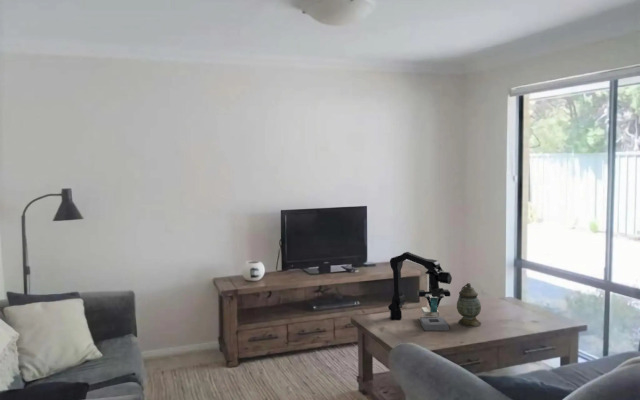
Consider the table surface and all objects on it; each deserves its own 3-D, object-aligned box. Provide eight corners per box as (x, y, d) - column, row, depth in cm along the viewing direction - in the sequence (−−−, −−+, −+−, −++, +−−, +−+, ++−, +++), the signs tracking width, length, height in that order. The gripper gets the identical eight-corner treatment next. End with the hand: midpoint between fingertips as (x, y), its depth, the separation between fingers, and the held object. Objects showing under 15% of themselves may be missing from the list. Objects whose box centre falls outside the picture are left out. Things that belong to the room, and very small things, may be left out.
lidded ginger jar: (482, 327, 292) (482, 286, 290) (457, 326, 295) (457, 285, 293) (479, 320, 306) (479, 280, 304) (456, 319, 309) (455, 280, 307)
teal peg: (431, 312, 294) (431, 299, 294) (429, 310, 298) (429, 297, 298) (437, 312, 294) (437, 299, 294) (436, 310, 298) (436, 297, 298)
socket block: (424, 330, 290) (424, 324, 290) (420, 322, 304) (420, 317, 304) (448, 330, 290) (448, 324, 290) (443, 322, 304) (443, 316, 304)
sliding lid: (424, 316, 304) (424, 311, 304) (421, 312, 313) (421, 307, 313) (438, 316, 304) (438, 311, 304) (435, 311, 313) (435, 307, 313)
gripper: (420, 285, 287) (420, 311, 288) (452, 284, 287) (452, 311, 288) (417, 280, 298) (417, 305, 300) (448, 280, 298) (448, 305, 299)
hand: (433, 307), depth 296 cm, fingers closed on teal peg, 4 cm apart
